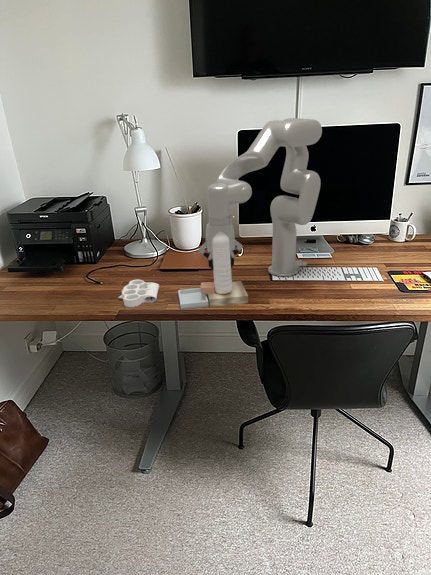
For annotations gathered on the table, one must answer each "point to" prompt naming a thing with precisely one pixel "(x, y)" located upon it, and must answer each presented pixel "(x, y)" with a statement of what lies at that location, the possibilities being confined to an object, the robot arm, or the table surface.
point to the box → (192, 298)
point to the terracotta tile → (207, 288)
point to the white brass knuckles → (139, 293)
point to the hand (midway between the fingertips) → (221, 267)
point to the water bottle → (221, 263)
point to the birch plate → (229, 296)
